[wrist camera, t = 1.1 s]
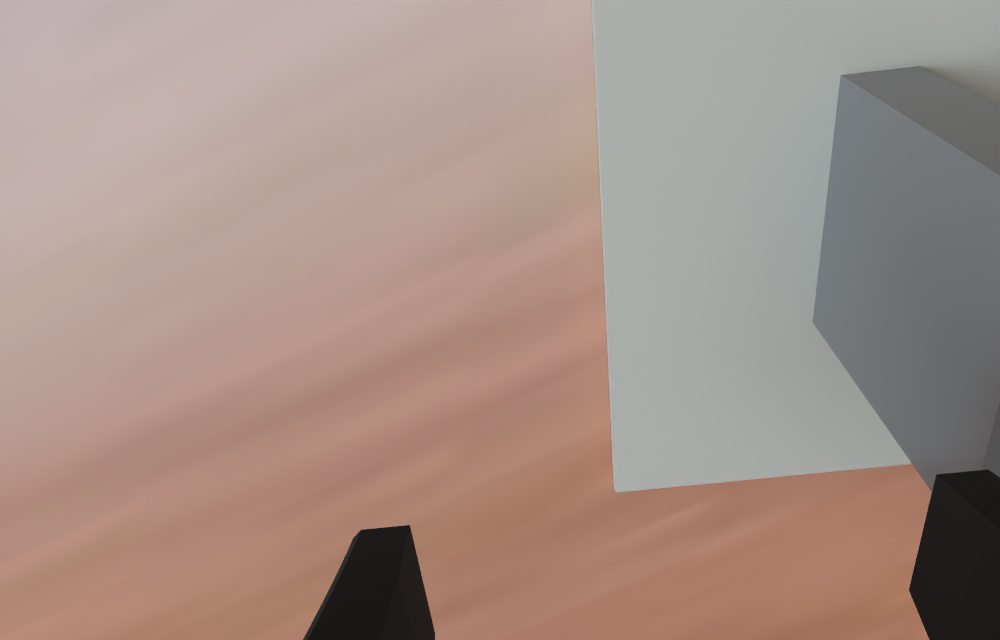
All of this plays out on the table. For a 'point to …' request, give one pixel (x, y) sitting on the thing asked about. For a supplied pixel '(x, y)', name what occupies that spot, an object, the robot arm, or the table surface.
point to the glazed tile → (917, 263)
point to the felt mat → (741, 223)
